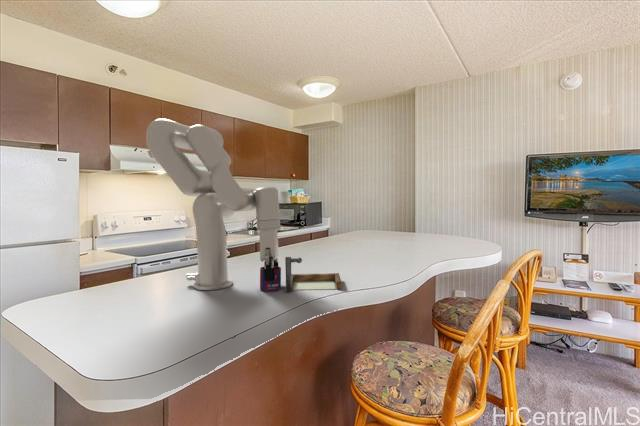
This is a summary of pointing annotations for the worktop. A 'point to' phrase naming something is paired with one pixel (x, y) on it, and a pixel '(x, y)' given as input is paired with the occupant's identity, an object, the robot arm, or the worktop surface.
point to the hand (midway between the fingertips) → (272, 276)
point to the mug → (270, 284)
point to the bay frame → (317, 278)
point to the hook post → (288, 272)
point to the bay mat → (314, 285)
